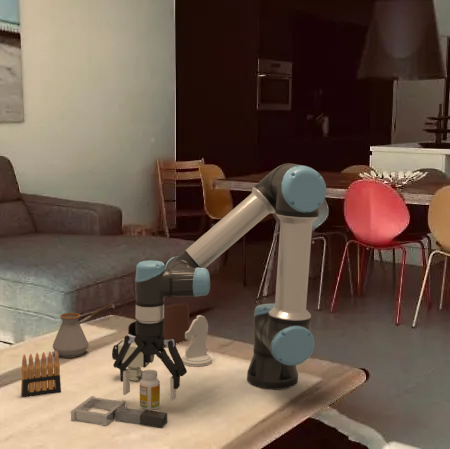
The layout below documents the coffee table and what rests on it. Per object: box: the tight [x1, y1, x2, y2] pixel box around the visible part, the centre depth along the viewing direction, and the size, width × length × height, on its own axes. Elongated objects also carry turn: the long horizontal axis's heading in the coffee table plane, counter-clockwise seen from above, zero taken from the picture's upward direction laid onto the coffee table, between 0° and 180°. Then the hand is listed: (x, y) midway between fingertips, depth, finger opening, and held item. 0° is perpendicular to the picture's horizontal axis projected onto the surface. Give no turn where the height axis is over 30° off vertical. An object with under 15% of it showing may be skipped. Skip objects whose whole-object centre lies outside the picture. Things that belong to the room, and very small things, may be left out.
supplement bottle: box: [139, 369, 161, 411], centre depth 202 cm, size 5×5×10 cm
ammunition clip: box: [20, 351, 62, 398], centre depth 209 cm, size 11×2×12 cm, turn 114°
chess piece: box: [181, 314, 213, 368], centre depth 238 cm, size 10×10×15 cm
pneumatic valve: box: [111, 339, 155, 382], centre depth 222 cm, size 6×12×12 cm, turn 78°
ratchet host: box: [70, 395, 168, 429], centre depth 194 cm, size 24×11×3 cm, turn 72°
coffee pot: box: [52, 302, 116, 358], centre depth 247 cm, size 21×12×15 cm, turn 124°
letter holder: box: [127, 302, 190, 349], centre depth 257 cm, size 10×20×14 cm, turn 138°
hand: (149, 396), depth 202 cm, fingers open, 13 cm apart
